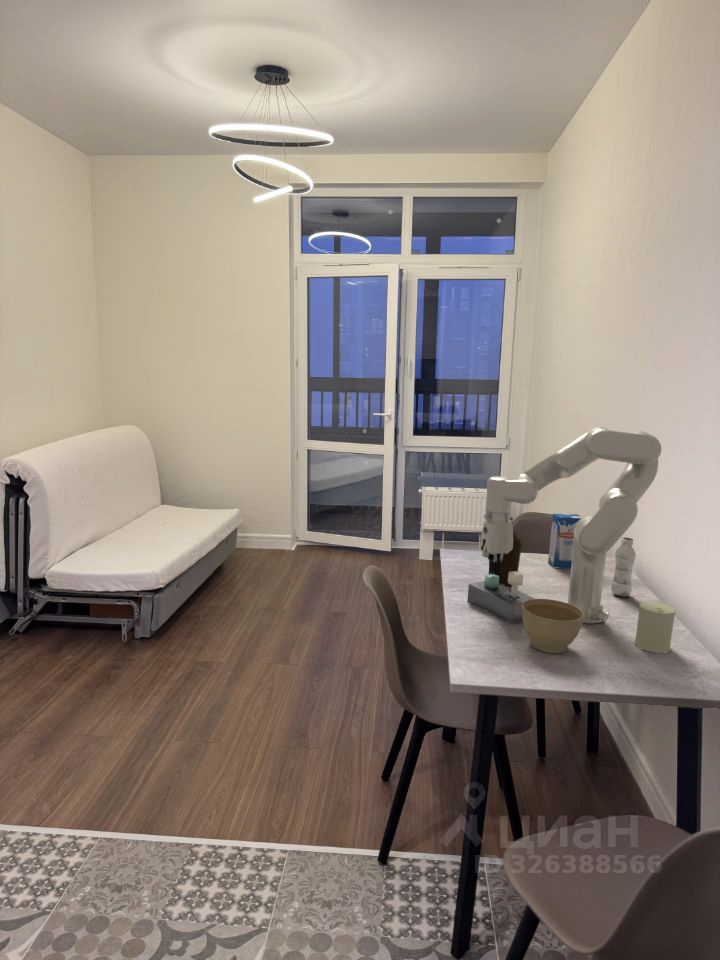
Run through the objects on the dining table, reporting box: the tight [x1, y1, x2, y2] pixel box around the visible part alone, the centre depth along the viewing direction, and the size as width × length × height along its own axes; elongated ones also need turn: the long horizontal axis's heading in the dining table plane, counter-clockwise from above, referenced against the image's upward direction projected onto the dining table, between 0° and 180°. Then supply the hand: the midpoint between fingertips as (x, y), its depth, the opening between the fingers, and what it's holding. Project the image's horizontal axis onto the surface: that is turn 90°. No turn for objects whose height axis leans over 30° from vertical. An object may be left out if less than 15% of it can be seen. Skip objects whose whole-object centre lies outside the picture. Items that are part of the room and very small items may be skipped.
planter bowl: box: [522, 598, 584, 654], centre depth 175 cm, size 16×16×11 cm
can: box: [634, 600, 677, 654], centre depth 178 cm, size 9×9×12 cm
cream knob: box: [508, 571, 524, 599], centre depth 196 cm, size 4×4×9 cm
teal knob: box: [484, 573, 499, 589], centre depth 205 cm, size 4×4×9 cm
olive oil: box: [488, 516, 522, 588], centre depth 220 cm, size 11×11×25 cm
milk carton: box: [547, 513, 584, 569], centre depth 249 cm, size 10×6×20 cm, turn 94°
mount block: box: [466, 580, 536, 625], centre depth 201 cm, size 20×10×6 cm, turn 32°
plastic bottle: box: [610, 536, 637, 598], centre depth 218 cm, size 6×7×20 cm
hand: (494, 572), depth 204 cm, fingers closed
